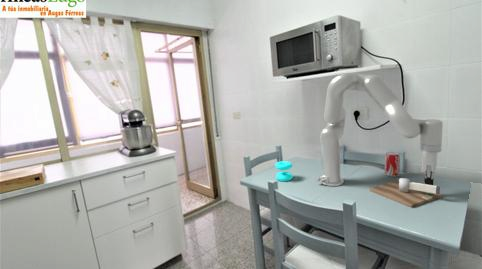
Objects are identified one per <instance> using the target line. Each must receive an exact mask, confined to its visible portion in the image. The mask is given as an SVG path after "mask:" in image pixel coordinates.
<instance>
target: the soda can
mask: <svg viewBox="0 0 482 269" xmlns="http://www.w3.org/2000/svg"><path fill="white" fill-rule="evenodd" d="M400 167H401V156H400V153H399V152H396V151H386V154H385V155H384V175H385V176H387V177H391V178H397V177H398V176H400V171H401V170H400V169H401V168H400Z"/></svg>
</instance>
